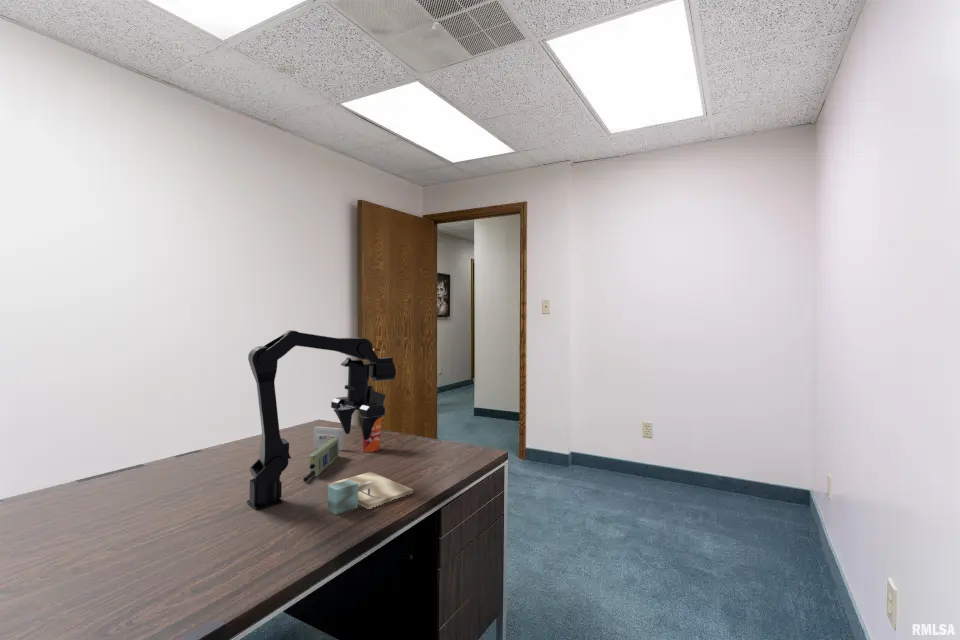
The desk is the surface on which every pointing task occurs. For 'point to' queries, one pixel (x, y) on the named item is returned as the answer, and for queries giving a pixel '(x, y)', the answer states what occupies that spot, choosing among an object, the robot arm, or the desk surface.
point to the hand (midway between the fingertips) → (356, 436)
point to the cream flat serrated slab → (377, 490)
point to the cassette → (322, 432)
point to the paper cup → (373, 438)
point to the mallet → (345, 495)
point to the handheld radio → (322, 458)
